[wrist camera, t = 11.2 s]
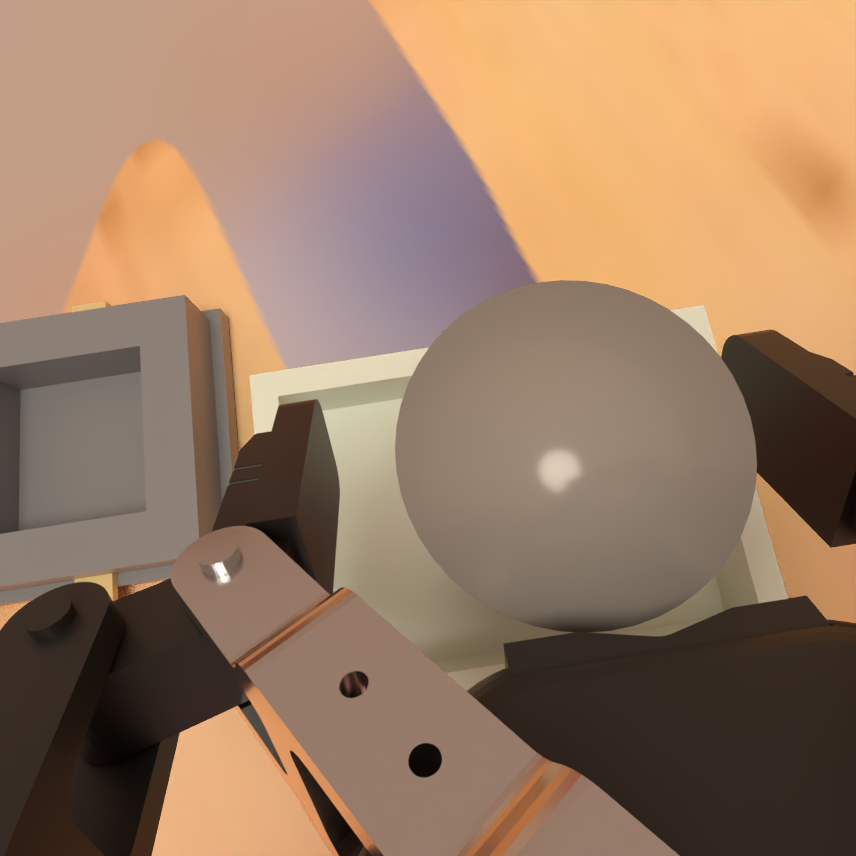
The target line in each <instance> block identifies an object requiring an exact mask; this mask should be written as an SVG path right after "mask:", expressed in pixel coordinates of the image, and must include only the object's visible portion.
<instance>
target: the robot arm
mask: <svg viewBox="0 0 856 856" xmlns="http://www.w3.org/2000/svg"><path fill="white" fill-rule="evenodd" d="M721 358H722V360H723V361H724V363H725V364H726V366H727V367H728V369H729V370H730V372H731V373H732V375H733V377H734V379H735V381H736V383H737V385H738V387H739V389H740V391H741V393H742V395H743V397H744V400H745V403H746V406H747V409H748V412H749V415H750V418H751V422H752V427H753V432H754V437H755V442H756V457H757V473H758V474H759V475H760V476H761V477H762V478H763V479H764V480H765V481H766V482H767V483H768V484H769V485H770V486H771V487H772V488H773V489H774V490H775V491H776V492H777V493H778V494H779V495H780V496H781V497H782V498H783V499H784V500H785V501H786V502H787V503H788V504H789V505H790V506H791V507H792V508H793V509H794V510H795V511H796V513H797V514H798V515H799V516H800V517H801V518H802V519H803V520H804V521H805V522H806V523H807V524H808V525H809V526H810V527H811V528H812V529H813V530H814V531H815V532H816V533H817V534H818V535H819V536H820V537H821V538H822V539H823V540H824V541H825V542H826V543H827V544H828V545H829V546H830V547H837V546H843V545H850V544H856V375H855V376H854V375H853V372H852V371H850V370H849V369H847V368H845V367H844V366H842V365H840V364H839V363H837V362H836V361H834V360H832V359H829V358H826V357H823V356H820V355H817V354H814V353H811V352H809V351H807V350H805V349H804V348H802V347H801V346H799V345H798V344H796V343H794V342H793V341H791V340H790V339H788V338H786V337H785V336H783V335H782V334H780V333H778V332H777V331H775V330H765V331H759V332H752V333H746V334H739V335H733V336H730V337H729V338H728V339H727V340H726V342H725V344H724V347H723V351H722V357H721ZM339 501H340V485H339V476H338V470H337V465H336V461H335V457H334V454H333V450H332V446H331V442H330V438H329V434H328V430H327V427H326V423H325V419H324V415H323V411H322V408H321V405H320V403H319V401H318V399H314V400H307V401H301V402H294V403H288V404H281V405H279V406H278V409H277V413H276V416H275V420H274V424H273V427H272V431H269V432H263V433H256V434H255V435H254V436H253V437H252V438H251V439H250V440H249V441H248V442H247V443H246V444H245V445H244V447H243V448H242V449H241V450H240V452H239V454H238V457H237V460H236V463H235V466H234V471H233V472H232V475H231V478H230V480H229V485H228V486H227V489H226V492H225V495H224V498H223V501H222V504H221V506H220V509H219V512H218V515H217V518H216V521H215V524H214V527H213V530H212V532H211V533H208V534H206V535H204V536H202V537H201V538H199V539H197V540H196V541H194V542H193V543H192V544H190V545H189V546H188V547H187V548H186V549H185V550H184V551H183V552H182V553H181V554H180V555H179V556H178V558H177V559H176V561H175V562H174V564H173V567H172V570H171V576H170V577H171V578H169V579H167V580H166V581H163V582H161V583H159V584H156V585H154V586H151V587H149V588H146V589H144V590H141V591H138V592H136V593H133V594H131V595H128V596H125V597H123V598H120V599H118V600H115V601H112V599H111V597H110V596H109V594H108V592H107V591H106V589H105V588H104V587H103V586H101V585H99V584H97V583H93V582H77V583H71V584H67V585H63V586H60V587H58V588H55V589H53V590H50V591H48V592H46V593H44V594H42V595H40V596H39V597H37V598H35V599H34V600H32V601H31V602H29V603H28V604H26V605H25V606H24V607H22V608H21V609H20V610H19V611H17V612H16V613H15V614H14V615H13V616H12V617H11V618H10V619H9V620H8V621H7V623H6V624H5V625H4V626H3V628H2V629H1V631H0V856H151V855H152V851H153V846H154V842H155V838H156V833H157V829H158V824H159V820H160V816H161V811H162V807H163V803H164V798H165V794H166V790H167V785H168V781H169V776H170V772H171V768H172V763H173V759H174V755H175V750H176V746H177V742H178V737H179V733H180V732H182V731H184V730H186V729H188V728H190V727H192V726H195V725H197V724H199V723H201V722H203V721H205V720H207V719H210V718H212V717H214V716H216V715H218V714H220V713H223V712H225V711H227V710H229V709H231V708H233V707H236V709H237V710H238V712H239V713H240V715H241V716H242V718H243V719H244V720H245V722H246V723H247V725H248V726H249V728H250V729H251V731H252V732H253V734H254V735H255V736H256V738H257V739H258V741H259V742H260V744H261V745H262V747H263V748H264V750H265V751H266V752H267V754H268V755H269V757H270V758H271V760H272V761H273V763H274V764H275V766H276V767H277V768H278V770H279V771H280V773H281V774H282V776H283V777H284V779H285V780H286V782H287V783H288V784H289V786H290V787H291V789H292V790H293V792H294V794H295V795H296V797H297V798H298V800H299V802H300V803H301V805H302V807H303V808H304V810H305V812H306V814H307V815H308V817H309V819H310V820H311V822H312V824H313V825H314V827H315V829H316V830H317V832H318V833H319V835H320V837H321V838H322V840H323V841H324V843H325V844H326V846H327V847H328V849H329V850H330V852H331V853H332V855H333V856H856V623H849V622H842V621H836V620H826V618H825V617H824V616H823V615H822V614H821V612H820V611H819V610H818V609H817V608H816V606H815V605H814V604H813V603H812V602H811V601H810V599H809V598H808V597H807V596H802V597H796V598H789V599H783V600H777V601H770V602H764V603H758V604H751V605H745V606H739V607H732V608H730V609H728V610H725V611H723V612H721V613H718V614H716V615H714V616H711V617H709V618H707V619H705V620H702V621H700V622H698V623H695V624H693V625H691V626H688V627H686V628H684V629H681V630H679V631H677V632H674V633H672V634H669V635H666V636H640V635H623V634H606V633H589V632H574V633H567V634H561V635H555V636H548V637H542V638H536V639H529V640H523V641H517V642H510V643H504V644H503V647H504V658H505V669H502V670H500V671H498V672H496V673H493V674H492V675H490V676H488V677H486V678H485V679H483V680H481V681H480V682H478V683H477V684H475V685H474V686H473V687H471V688H470V689H469V690H467V691H466V690H465V689H464V688H462V687H461V686H460V685H459V684H458V683H457V682H456V681H455V680H453V679H452V678H451V677H450V676H449V675H448V674H447V673H445V672H444V671H443V670H442V669H441V668H440V667H439V666H437V665H436V664H435V663H434V662H433V661H432V660H431V659H429V658H428V657H427V656H426V655H425V654H424V653H423V652H422V651H420V650H419V649H418V648H417V647H416V646H415V645H414V644H412V643H411V642H410V641H409V640H408V639H407V638H406V637H404V636H403V635H402V634H401V633H400V632H399V631H398V630H396V629H395V628H394V627H393V626H392V625H391V624H390V623H389V622H387V621H386V620H385V619H384V618H383V617H382V616H381V615H379V614H378V613H377V612H376V611H375V610H374V609H373V608H371V607H370V606H369V605H368V604H367V603H366V602H365V601H363V600H362V599H361V598H360V597H359V596H358V595H357V594H355V593H354V592H353V591H351V590H350V589H348V588H345V587H341V588H339V589H338V590H337V591H335V592H334V593H333V585H334V571H335V557H336V543H337V529H338V515H339Z"/></svg>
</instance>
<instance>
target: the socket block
mask: <svg viewBox="0 0 856 856" xmlns="http://www.w3.org/2000/svg"><path fill="white" fill-rule="evenodd" d="M238 454H239V449H238V436H237V424H236V411H235V398H234V385H233V372H232V359H231V346H230V333H229V320H228V317H227V316H226V315H225V314H224V312H223V311H222V310H221V309H214V310H208V311H200V310H199V309H198V308H197V307H196V306H195V305H194V304H193V303H192V302H191V301H190V300H189V299H188V298H187V297H186V296H185V295H182V296H175V297H169V298H162V299H156V300H149V301H142V302H136V303H129V304H123V305H116V306H110V304H109V303H107V302H106V301H102V302H96V303H89V304H83V305H76V306H72V312H71V313H64V314H58V315H52V316H45V317H39V318H32V319H25V320H19V321H12V322H6V323H0V606H1V605H7V604H14V603H20V602H27V601H32V600H34V599H35V598H37V597H39V596H40V595H42V594H44V593H46V592H48V591H50V590H53V589H55V588H58V587H60V586H63V585H67V584H71V583H77V582H93V583H97V584H99V585H101V586H103V587H104V588H105V589H106V591H107V592H108V594H109V596H110V597H111V599H112V601H115V600H118V587H122V586H129V585H135V584H142V583H148V582H154V581H161V580H167V579H169V578H171V577H170V576H171V570H172V567H173V564H174V562H175V561H176V559H177V558H178V556H179V555H180V554H181V553H182V552H183V551H184V550H185V549H186V548H187V547H188V546H189V545H190V544H192V543H193V542H194V541H196V540H197V539H199V538H201V537H202V536H204V535H206V534H208V533H211V532H212V530H213V527H214V524H215V521H216V518H217V515H218V512H219V509H220V506H221V504H222V501H223V498H224V495H225V492H226V489H227V486H228V485H229V480H230V478H231V475H232V472H233V471H234V466H235V463H236V460H237V457H238Z"/></svg>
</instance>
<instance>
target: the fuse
mask: <svg viewBox="0 0 856 856" xmlns="http://www.w3.org/2000/svg"><path fill="white" fill-rule="evenodd" d="M395 457H396V472H397V477H398V482H399V487H400V492H401V496H402V499H403V502H404V505H405V507H406V510H407V513H408V516H409V518H410V520H411V522H412V524H413V526H414V528H415V530H416V533H417V535H418V537H419V538H420V540H421V541H422V543H423V544H424V546H425V547H426V549H427V550H428V552H429V553H430V555H431V556H432V558H433V559H434V560H435V561H436V562H437V564H438V565H439V566H440V567H441V568H442V569H443V570H444V572H445V573H446V574H447V575H448V576H449V577H450V578H451V579H452V580H453V581H454V582H456V583H457V584H458V585H459V586H460V587H461V588H462V589H464V590H465V591H466V592H467V593H468V594H470V595H471V596H473V597H474V598H476V599H477V600H479V601H480V602H482V603H483V604H485V605H486V606H488V607H489V608H491V609H493V610H495V611H497V612H500V613H502V614H504V615H506V616H508V617H510V618H512V619H515V620H518V621H521V622H524V623H527V624H529V625H532V626H536V627H541V628H546V629H551V630H556V631H563V632H589V633H590V632H604V631H613V630H617V629H622V628H627V627H631V626H635V625H638V624H641V623H643V622H646V621H649V620H652V619H654V618H657V617H659V616H661V615H663V614H665V613H667V612H668V611H670V610H672V609H674V608H676V607H678V606H680V605H681V604H682V603H684V602H685V601H686V600H688V599H689V598H690V597H692V596H693V595H694V594H696V593H697V592H698V591H700V590H701V589H702V588H703V587H704V586H705V585H706V584H707V583H708V582H709V581H710V580H711V579H712V578H713V577H714V576H715V575H716V574H717V572H718V571H719V570H720V568H721V567H722V566H723V564H724V563H725V562H726V560H727V559H728V558H729V556H730V555H731V553H732V551H733V550H734V548H735V546H736V544H737V542H738V540H739V539H740V537H741V535H742V533H743V530H744V527H745V525H746V522H747V519H748V516H749V514H750V511H751V506H752V502H753V497H754V492H755V486H756V472H757V457H756V442H755V437H754V432H753V427H752V422H751V418H750V415H749V412H748V409H747V406H746V403H745V400H744V397H743V395H742V393H741V391H740V389H739V387H738V385H737V383H736V381H735V379H734V377H733V375H732V373H731V372H730V370H729V369H728V367H727V366H726V364H725V363H724V361H723V360H722V358H721V357H720V356H719V354H718V353H717V352H716V351H715V350H714V349H713V347H712V346H711V345H710V344H709V343H708V342H707V340H706V339H705V338H704V337H703V336H702V335H700V334H699V333H698V332H697V331H696V330H695V329H694V328H693V327H692V326H691V325H689V324H688V323H687V322H686V321H684V320H683V319H681V318H680V317H679V316H677V315H676V314H674V313H673V312H672V311H670V310H669V309H667V308H665V307H663V306H661V305H660V304H658V303H656V302H654V301H652V300H650V299H649V298H646V297H644V296H641V295H639V294H636V293H634V292H631V291H629V290H625V289H622V288H618V287H614V286H610V285H607V284H600V283H594V282H587V281H551V282H541V283H536V284H531V285H526V286H522V287H518V288H515V289H512V290H509V291H506V292H503V293H501V294H498V295H496V296H494V297H492V298H490V299H488V300H486V301H484V302H482V303H480V304H478V305H477V306H475V307H473V308H472V309H470V310H469V311H467V312H466V313H464V314H463V315H461V316H460V317H459V318H458V319H457V320H455V321H454V322H453V323H452V324H451V325H450V326H449V327H447V328H446V329H445V330H444V331H443V332H442V333H441V335H440V336H439V337H438V338H437V339H436V340H435V341H434V342H433V344H432V345H431V346H430V347H429V348H428V350H427V351H426V353H425V354H424V356H423V357H422V359H421V360H420V362H419V363H418V365H417V367H416V369H415V371H414V373H413V375H412V377H411V379H410V381H409V383H408V385H407V388H406V391H405V394H404V397H403V400H402V403H401V406H400V411H399V416H398V421H397V426H396V440H395Z"/></svg>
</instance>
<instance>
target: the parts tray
mask: <svg viewBox="0 0 856 856" xmlns="http://www.w3.org/2000/svg"><path fill="white" fill-rule="evenodd" d="M670 311H672V312H673V313H674V314H676V315H677V316H679V317H680V318H681V319H683V320H684V321H686V322H687V323H688V324H689V325H691V326H692V327H693V328H694V329H695V330H696V331H697V332H698V333H699V334H700V335H702V336H703V337H704V338H705V339H706V340H707V342H708V343H709V344H710V345H711V346H712V347H713V349H714V350H715V351H716V352H717V348H716V345H715V341H714V338H713V335H712V331H711V328H710V324H709V321H708V317H707V314H706V310H705V307H704V305H701V306H695V307H688V308H682V309H676V310H670ZM427 350H428V348H423V349H416V350H410V351H404V352H397V353H391V354H384V355H378V356H372V357H365V358H359V359H352V360H345V361H339V362H333V363H326V364H319V365H314V366H307V367H301V368H293V369H287V370H281V371H274V372H268V373H261V374H255V375H249V376H250V388H251V400H252V412H253V423H254V435H255V434H256V433H263V432H269V431H272V427H273V424H274V420H275V416H276V413H277V409H278V406H279V405H281V404H288V403H294V402H301V401H307V400H314V399H318V401H319V403H320V405H321V408H322V411H323V415H324V419H325V423H326V427H327V430H328V434H329V438H330V442H331V446H332V450H333V454H334V457H335V461H336V465H337V470H338V476H339V485H340V501H339V515H338V529H337V543H336V557H335V571H334V585H333V593H334V592H335V591H337V590H338V589H339V588H341V587H345V588H348V589H350V590H351V591H353V592H354V593H355V594H357V595H358V596H359V597H360V598H361V599H362V600H363V601H365V602H366V603H367V604H368V605H369V606H370V607H371V608H373V609H374V610H375V611H376V612H377V613H378V614H379V615H381V616H382V617H383V618H384V619H385V620H386V621H387V622H389V623H390V624H391V625H392V626H393V627H394V628H395V629H396V630H398V631H399V632H400V633H401V634H402V635H403V636H404V637H406V638H407V639H408V640H409V641H410V642H411V643H412V644H414V645H415V646H416V647H417V648H418V649H419V650H420V651H422V652H423V653H424V654H425V655H426V656H427V657H428V658H429V659H431V660H432V661H433V662H434V663H435V664H436V665H437V666H439V667H440V668H441V669H442V670H443V671H444V672H445V673H447V674H448V675H449V676H450V677H451V678H452V679H453V680H455V681H456V682H457V683H458V684H459V685H460V686H461V687H462V688H464V689H465V690H466V691H467V690H469V689H470V688H471V687H473V686H474V685H475V684H477V683H478V682H480V681H481V680H483V679H485V678H486V677H488V676H490V675H492V674H493V673H496V672H498V671H500V670H502V669H505V658H504V647H503V644H504V643H510V642H517V641H523V640H529V639H536V638H542V637H548V636H555V635H561V634H567V633H574V632H563V631H556V630H551V629H546V628H541V627H536V626H532V625H529V624H527V623H524V622H521V621H518V620H515V619H512V618H510V617H508V616H506V615H504V614H502V613H500V612H497V611H495V610H493V609H491V608H489V607H488V606H486V605H485V604H483V603H482V602H480V601H479V600H477V599H476V598H474V597H473V596H471V595H470V594H468V593H467V592H466V591H465V590H464V589H462V588H461V587H460V586H459V585H458V584H457V583H456V582H454V581H453V580H452V579H451V578H450V577H449V576H448V575H447V574H446V573H445V572H444V570H443V569H442V568H441V567H440V566H439V565H438V564H437V562H436V561H435V560H434V559H433V558H432V556H431V555H430V553H429V552H428V550H427V549H426V547H425V546H424V544H423V543H422V541H421V540H420V538H419V537H418V535H417V533H416V530H415V528H414V526H413V524H412V522H411V520H410V518H409V516H408V513H407V510H406V507H405V505H404V502H403V499H402V496H401V492H400V487H399V482H398V477H397V472H396V457H395V440H396V426H397V421H398V416H399V411H400V406H401V403H402V400H403V397H404V394H405V391H406V388H407V385H408V383H409V381H410V379H411V377H412V375H413V373H414V371H415V369H416V367H417V365H418V363H419V362H420V360H421V359H422V357H423V356H424V354H425V353H426V351H427ZM717 353H718V352H717ZM783 599H788V597H787V593H786V590H785V586H784V583H783V579H782V576H781V572H780V569H779V565H778V562H777V558H776V555H775V551H774V548H773V544H772V541H771V537H770V534H769V530H768V527H767V523H766V520H765V516H764V513H763V509H762V506H761V502H760V499H759V495H758V492H757V488H756V486H755V492H754V497H753V502H752V506H751V511H750V514H749V516H748V519H747V522H746V525H745V527H744V530H743V533H742V535H741V537H740V539H739V540H738V542H737V544H736V546H735V548H734V550H733V551H732V553H731V555H730V556H729V558H728V559H727V560H726V562H725V563H724V564H723V566H722V567H721V568H720V570H719V571H718V572H717V574H716V575H715V576H714V577H713V578H712V579H711V580H710V581H709V582H708V583H707V584H706V585H705V586H704V587H703V588H702V589H701V590H700V591H698V592H697V593H696V594H694V595H693V596H692V597H690V598H689V599H688V600H686V601H685V602H684V603H682V604H681V605H680V606H678V607H676V608H674V609H672V610H670V611H668V612H667V613H665V614H663V615H661V616H659V617H657V618H654V619H652V620H649V621H646V622H643V623H641V624H638V625H635V626H631V627H627V628H622V629H617V630H613V631H604V632H590V633H606V634H623V635H640V636H666V635H669V634H672V633H674V632H677V631H679V630H681V629H684V628H686V627H688V626H691V625H693V624H695V623H698V622H700V621H702V620H705V619H707V618H709V617H711V616H714V615H716V614H718V613H721V612H723V611H725V610H728V609H730V608H732V607H739V606H745V605H751V604H758V603H764V602H770V601H777V600H783Z"/></svg>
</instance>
